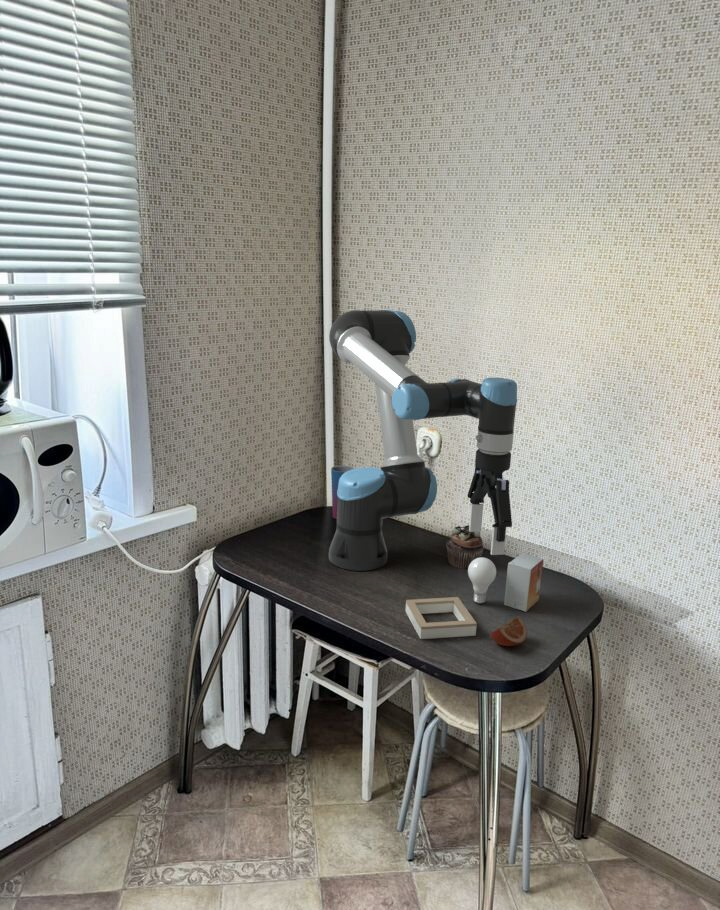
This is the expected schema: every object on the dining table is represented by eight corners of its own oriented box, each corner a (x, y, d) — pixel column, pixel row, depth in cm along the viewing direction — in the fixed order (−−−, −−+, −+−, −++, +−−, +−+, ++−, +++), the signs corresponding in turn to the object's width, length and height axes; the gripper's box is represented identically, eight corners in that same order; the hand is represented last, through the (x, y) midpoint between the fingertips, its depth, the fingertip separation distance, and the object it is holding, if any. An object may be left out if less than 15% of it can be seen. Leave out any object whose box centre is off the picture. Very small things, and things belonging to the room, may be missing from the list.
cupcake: (489, 564, 185) (493, 528, 182) (464, 573, 179) (467, 536, 176) (462, 552, 192) (466, 517, 189) (437, 560, 186) (439, 524, 183)
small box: (526, 612, 160) (531, 569, 157) (503, 605, 163) (507, 562, 160) (539, 600, 166) (544, 558, 164) (516, 593, 170) (521, 552, 167)
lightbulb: (474, 593, 168) (478, 550, 165) (498, 602, 164) (502, 558, 161) (459, 602, 163) (463, 558, 160) (484, 612, 159) (488, 566, 156)
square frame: (405, 611, 158) (406, 599, 157) (456, 608, 161) (457, 597, 160) (420, 639, 147) (421, 626, 146) (475, 635, 149) (476, 623, 149)
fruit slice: (505, 630, 152) (507, 609, 151) (532, 642, 148) (535, 621, 146) (482, 644, 146) (484, 622, 145) (511, 657, 142) (513, 635, 140)
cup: (330, 520, 210) (331, 471, 206) (329, 512, 217) (330, 465, 213) (353, 520, 211) (355, 472, 207) (351, 512, 217) (353, 465, 213)
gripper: (458, 436, 165) (451, 523, 171) (499, 466, 141) (490, 565, 147) (488, 436, 167) (481, 521, 172) (534, 466, 143) (524, 564, 148)
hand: (485, 542), depth 159 cm, fingers open, 13 cm apart
